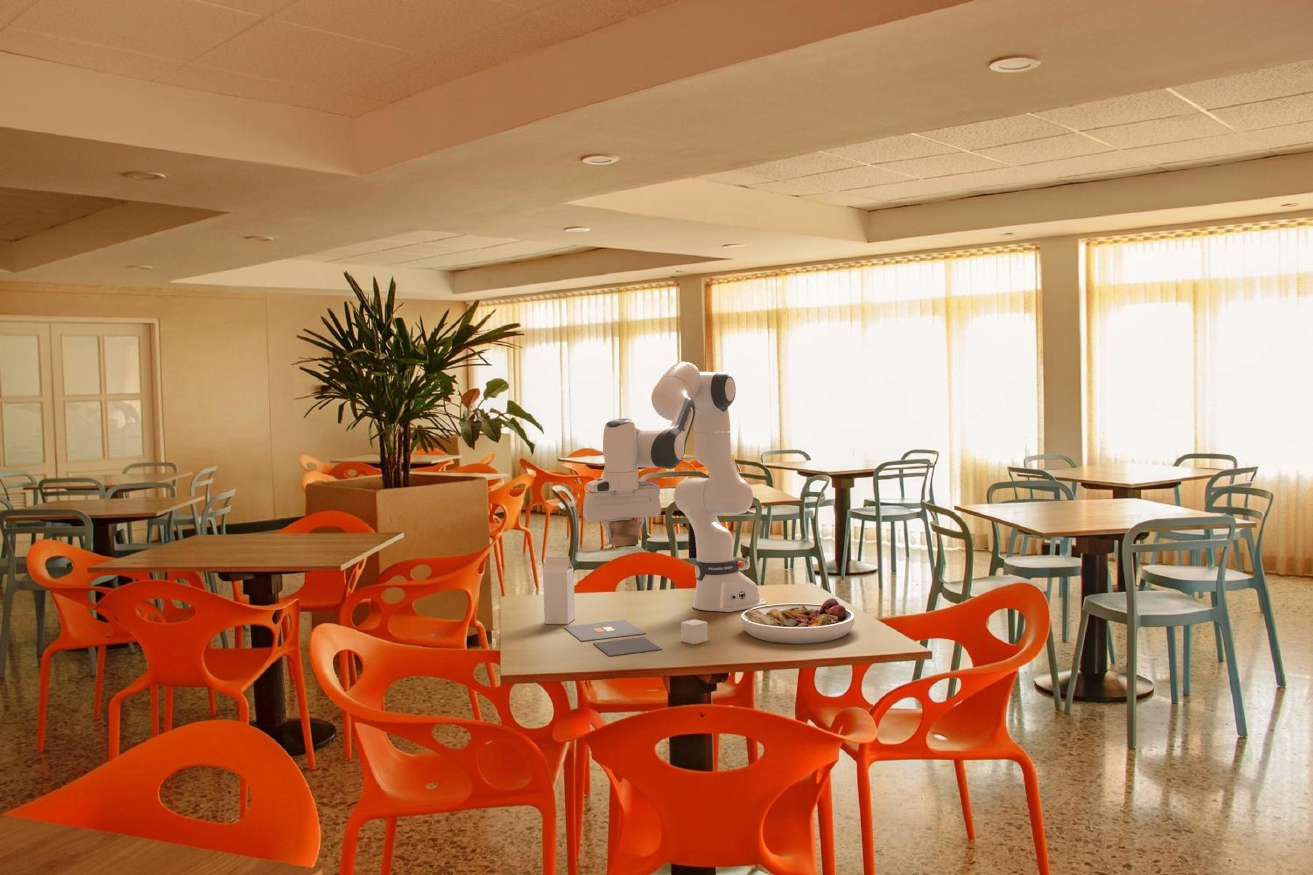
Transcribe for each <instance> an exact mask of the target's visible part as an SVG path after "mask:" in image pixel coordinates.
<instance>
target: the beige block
mask: <svg viewBox="0 0 1313 875" xmlns="http://www.w3.org/2000/svg"><path fill="white" fill-rule="evenodd" d="M708 625H709V622H708V621H704V620H700V619H699V620H698V619H695V618H694V619H690V620H689V619H688V620H686V621H681V622H680V641H681V642H683V643H688V644H691V645H697V644H700V643H704V642H705V643H706V642H708V641H709V628H708V627H709V626H708Z"/></svg>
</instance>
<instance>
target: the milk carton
mask: <svg viewBox="0 0 1313 875" xmlns="http://www.w3.org/2000/svg"><path fill="white" fill-rule="evenodd" d="M570 558H571V557H570V556H545V562H544V565H543V566H544V567H543V570H542V588H543V614H544V615H543V616H544V624H545V625H546V624H547V625H569V624H570V623H572V621H574V620H575V619H576V607H575V606H576V605H575V578H574V577H575V576H574V573H575V572H574V566H573V565H572V562H571V560H570Z"/></svg>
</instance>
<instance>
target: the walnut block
mask: <svg viewBox="0 0 1313 875" xmlns="http://www.w3.org/2000/svg"><path fill="white" fill-rule="evenodd" d="M607 527H608V528H609V530H612V531H613V538H608V544H610V545H611V546H615V547H622V546H623V547H624V546H635V545H639V535H638V521H637V519H634V518H630V519H618V520H609V524H608V525H607Z"/></svg>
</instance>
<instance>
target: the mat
mask: <svg viewBox="0 0 1313 875" xmlns="http://www.w3.org/2000/svg"><path fill="white" fill-rule="evenodd" d="M592 644H593V646H594V647H596V648H597V649H599V650H600V651H601V652H603V653H604V654H605V655H607V656H608V657H616V656H617V657H618V656H624V655H632V654H641V653H648V652H656V651H657V652H658V651H662V650H663V648H661V647H660V646H658V645H657V644H655V643H654V642H652V641H650V640H649V639H647V638H646V637H645V636H641V637H633V638H632V637H631V638H624V639H617V640H616V639H615V640H607V641H600V642H599V641H598V642H592Z"/></svg>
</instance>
